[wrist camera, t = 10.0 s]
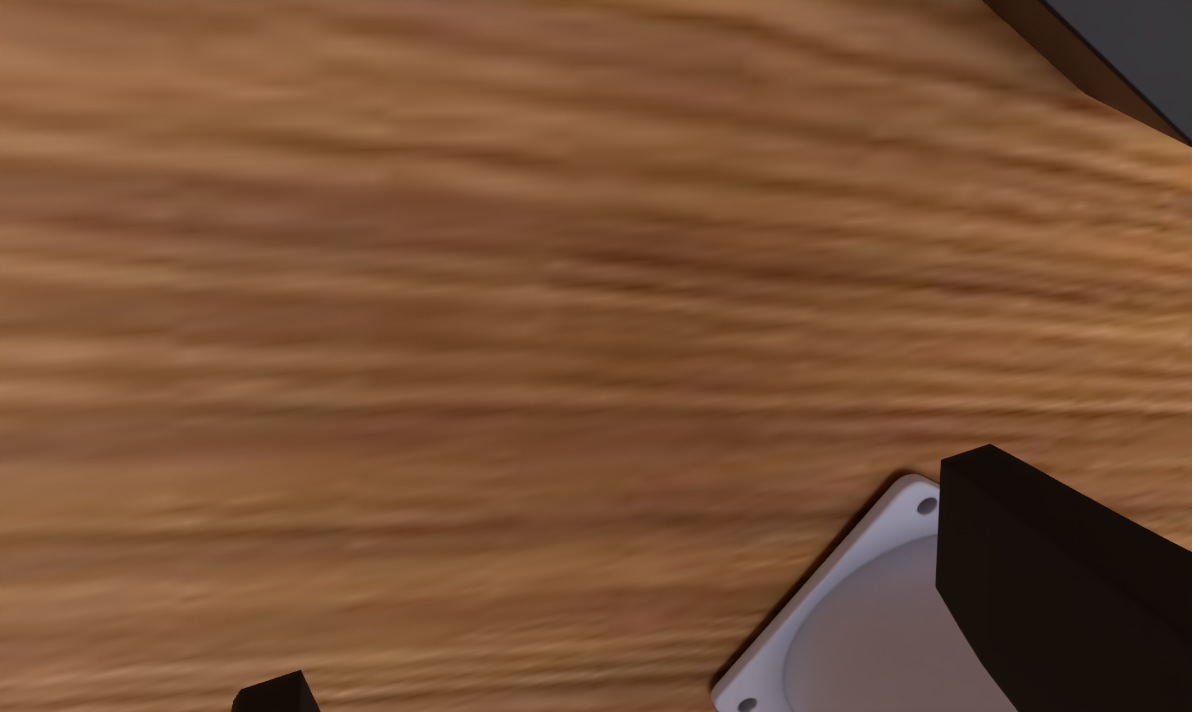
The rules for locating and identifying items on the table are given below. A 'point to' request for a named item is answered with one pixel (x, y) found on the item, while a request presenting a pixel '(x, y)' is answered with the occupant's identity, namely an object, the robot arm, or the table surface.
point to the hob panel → (1117, 53)
